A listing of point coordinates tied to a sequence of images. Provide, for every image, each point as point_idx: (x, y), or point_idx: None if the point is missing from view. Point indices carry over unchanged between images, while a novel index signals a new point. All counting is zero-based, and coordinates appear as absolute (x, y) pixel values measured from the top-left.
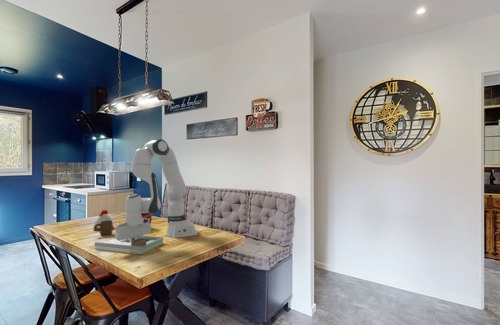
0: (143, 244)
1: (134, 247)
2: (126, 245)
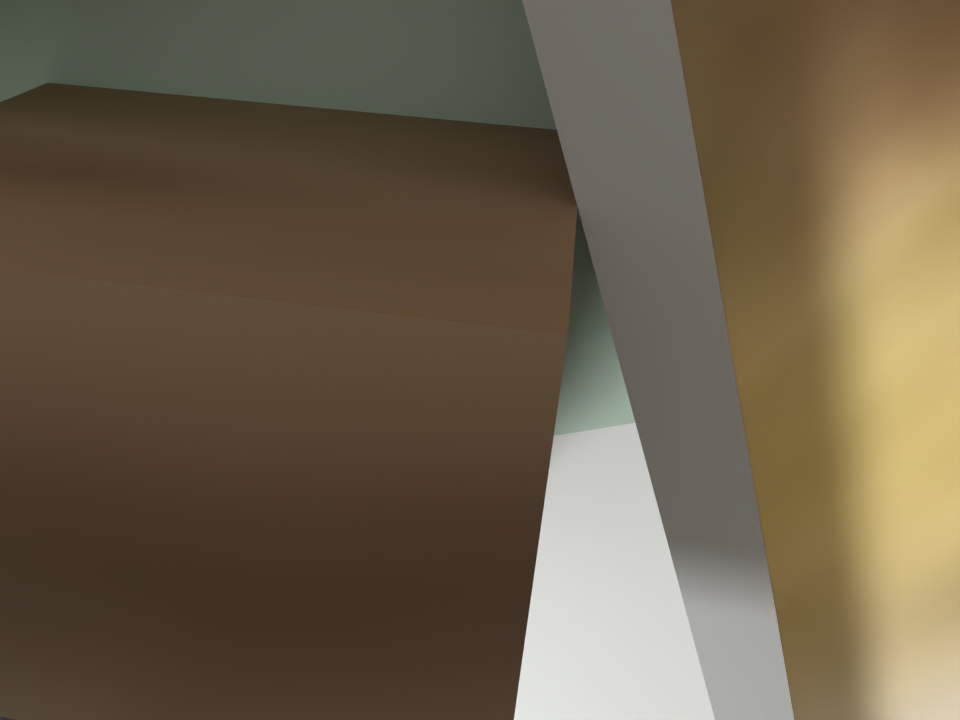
0: (108, 144)
1: (700, 208)
2: (762, 662)
